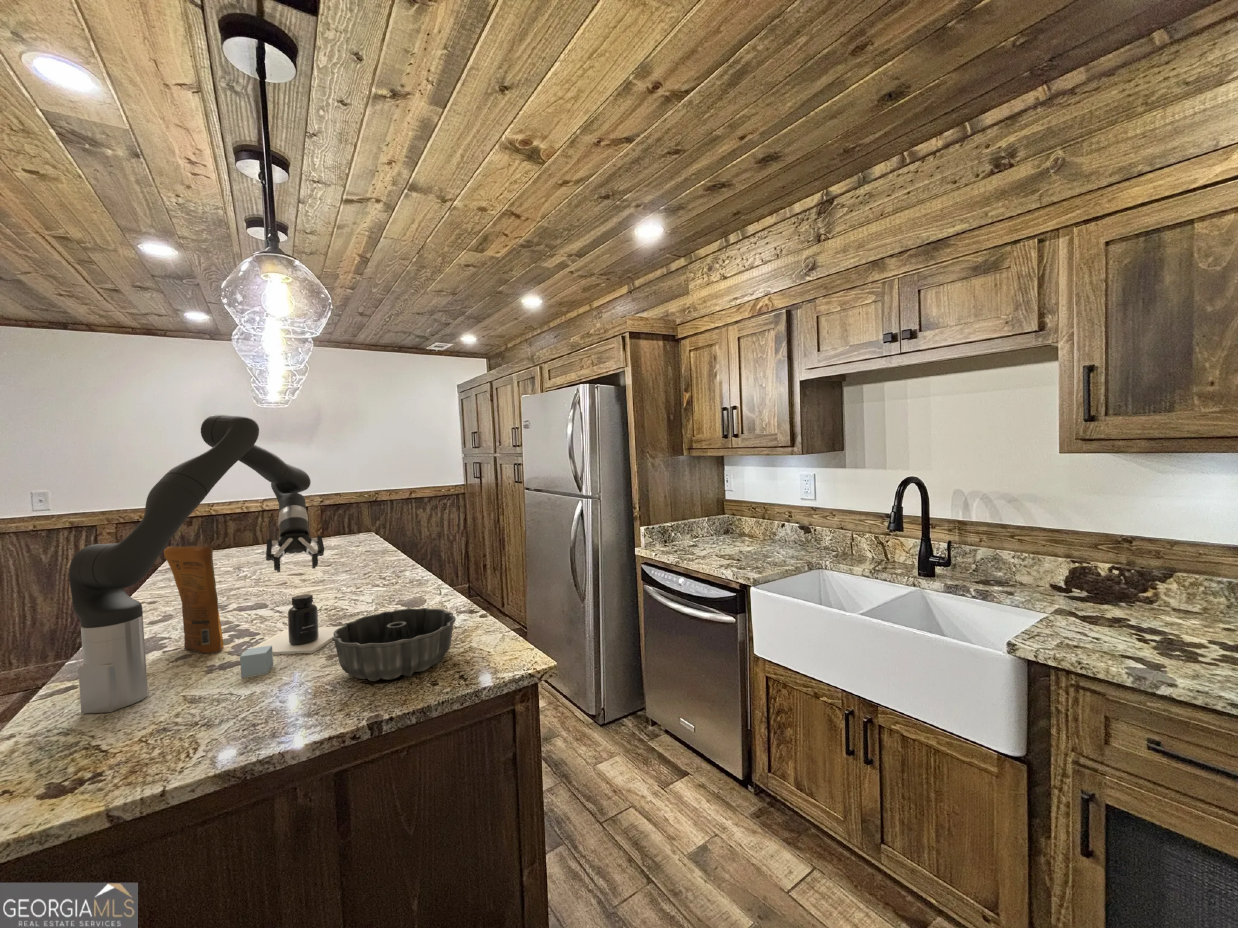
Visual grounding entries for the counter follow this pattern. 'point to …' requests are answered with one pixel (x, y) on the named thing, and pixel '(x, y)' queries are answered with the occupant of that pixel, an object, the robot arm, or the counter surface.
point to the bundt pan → (394, 643)
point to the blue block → (256, 661)
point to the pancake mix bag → (197, 596)
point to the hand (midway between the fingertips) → (296, 568)
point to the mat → (284, 647)
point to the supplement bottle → (302, 620)
